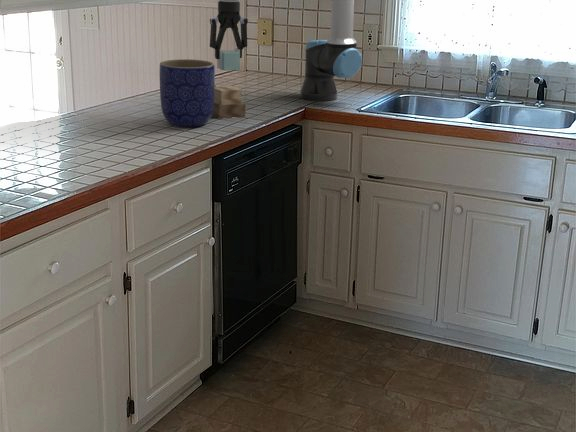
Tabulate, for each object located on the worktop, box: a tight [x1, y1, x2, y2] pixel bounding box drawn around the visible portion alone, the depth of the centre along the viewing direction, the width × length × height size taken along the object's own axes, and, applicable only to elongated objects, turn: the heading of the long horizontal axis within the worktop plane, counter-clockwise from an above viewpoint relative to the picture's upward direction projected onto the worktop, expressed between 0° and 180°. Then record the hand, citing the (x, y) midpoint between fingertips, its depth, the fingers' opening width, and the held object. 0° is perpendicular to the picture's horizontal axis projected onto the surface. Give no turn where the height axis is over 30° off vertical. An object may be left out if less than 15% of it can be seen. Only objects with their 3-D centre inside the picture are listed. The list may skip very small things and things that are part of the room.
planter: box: [159, 59, 216, 128], centre depth 275 cm, size 18×18×21 cm
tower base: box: [212, 102, 246, 120], centre depth 293 cm, size 10×10×5 cm
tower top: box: [214, 85, 243, 105], centre depth 291 cm, size 8×8×5 cm
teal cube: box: [220, 49, 241, 71], centre depth 287 cm, size 6×6×6 cm
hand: (228, 67), depth 288 cm, fingers closed on teal cube, 6 cm apart
